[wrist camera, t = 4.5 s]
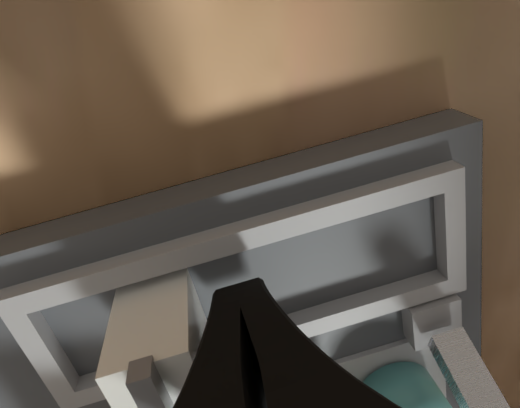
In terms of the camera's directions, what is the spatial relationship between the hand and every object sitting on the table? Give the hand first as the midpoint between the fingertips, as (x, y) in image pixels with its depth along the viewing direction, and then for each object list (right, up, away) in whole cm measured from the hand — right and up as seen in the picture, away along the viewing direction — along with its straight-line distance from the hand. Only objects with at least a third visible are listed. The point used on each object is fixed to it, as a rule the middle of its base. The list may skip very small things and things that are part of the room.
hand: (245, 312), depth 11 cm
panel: (0, -2, +4) cm, 4 cm away
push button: (+5, -4, +4) cm, 7 cm away
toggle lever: (+6, -1, +2) cm, 6 cm away
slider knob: (-2, 0, +1) cm, 2 cm away
